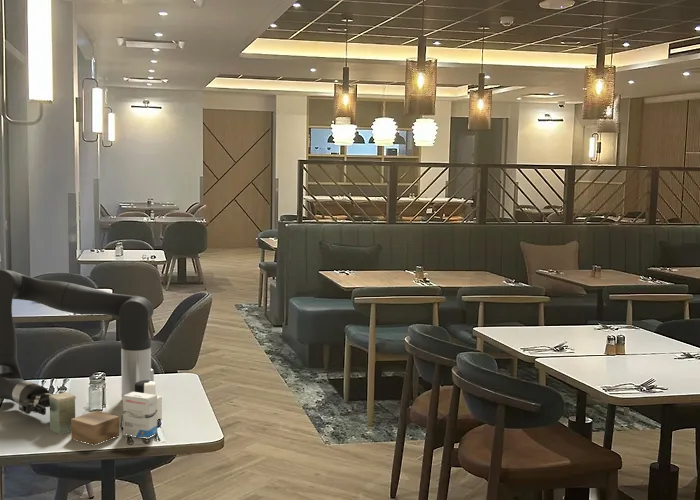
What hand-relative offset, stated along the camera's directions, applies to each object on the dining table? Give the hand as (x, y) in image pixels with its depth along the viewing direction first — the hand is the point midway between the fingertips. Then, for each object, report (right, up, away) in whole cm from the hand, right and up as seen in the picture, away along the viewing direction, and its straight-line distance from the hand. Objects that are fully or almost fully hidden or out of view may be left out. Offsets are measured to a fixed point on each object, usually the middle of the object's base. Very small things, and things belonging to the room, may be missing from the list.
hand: (58, 407), depth 228 cm
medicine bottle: (+23, -6, +9) cm, 25 cm away
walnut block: (+12, -7, -6) cm, 16 cm away
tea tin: (+1, -6, 0) cm, 6 cm away
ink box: (+24, -7, -3) cm, 25 cm away
